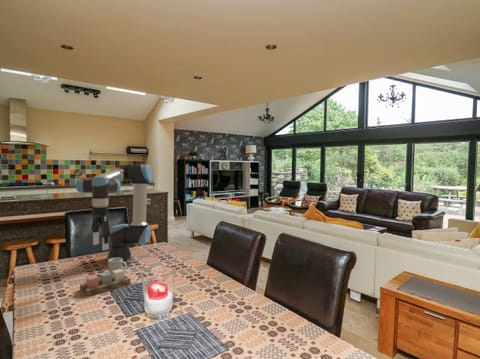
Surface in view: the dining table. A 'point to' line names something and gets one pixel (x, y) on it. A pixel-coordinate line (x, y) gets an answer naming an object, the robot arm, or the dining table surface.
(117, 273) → the cream key
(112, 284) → the key block
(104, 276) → the slate key
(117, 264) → the cup
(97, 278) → the terracotta key
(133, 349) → the dining table surface
